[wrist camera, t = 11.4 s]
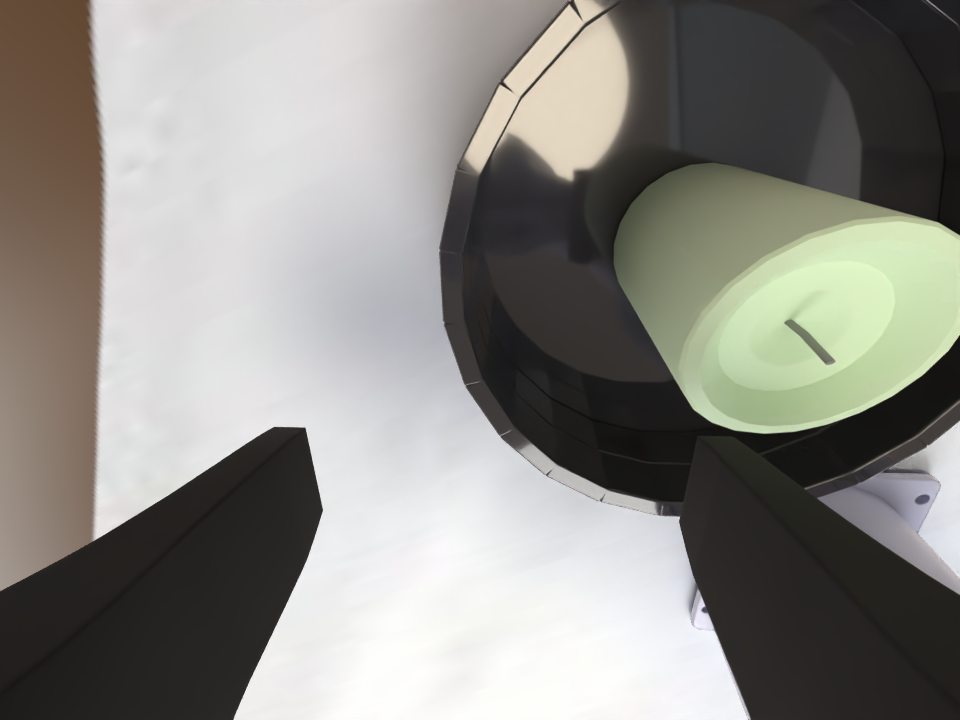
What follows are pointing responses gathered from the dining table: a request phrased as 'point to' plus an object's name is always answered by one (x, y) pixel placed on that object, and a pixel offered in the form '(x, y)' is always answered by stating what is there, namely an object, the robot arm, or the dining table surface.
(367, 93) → the dining table surface
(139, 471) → the dining table surface
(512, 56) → the dining table surface
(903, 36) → the pan
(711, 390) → the candle
